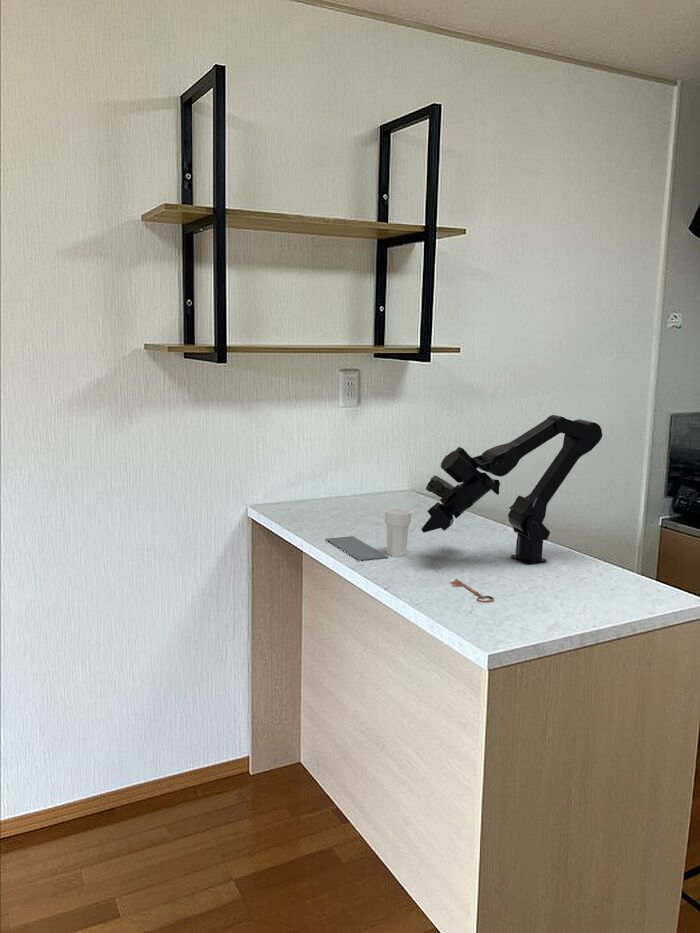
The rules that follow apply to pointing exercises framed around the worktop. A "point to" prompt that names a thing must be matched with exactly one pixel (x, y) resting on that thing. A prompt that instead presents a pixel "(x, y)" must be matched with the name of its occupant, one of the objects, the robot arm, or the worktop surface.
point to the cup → (397, 530)
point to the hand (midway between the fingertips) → (422, 530)
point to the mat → (356, 548)
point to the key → (472, 591)
